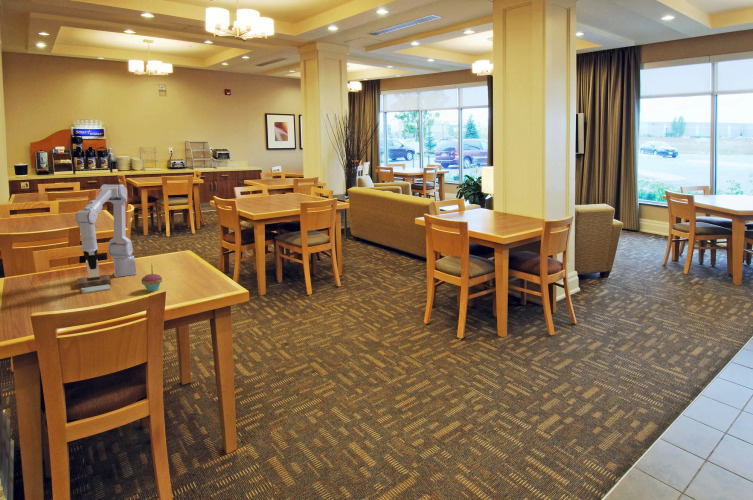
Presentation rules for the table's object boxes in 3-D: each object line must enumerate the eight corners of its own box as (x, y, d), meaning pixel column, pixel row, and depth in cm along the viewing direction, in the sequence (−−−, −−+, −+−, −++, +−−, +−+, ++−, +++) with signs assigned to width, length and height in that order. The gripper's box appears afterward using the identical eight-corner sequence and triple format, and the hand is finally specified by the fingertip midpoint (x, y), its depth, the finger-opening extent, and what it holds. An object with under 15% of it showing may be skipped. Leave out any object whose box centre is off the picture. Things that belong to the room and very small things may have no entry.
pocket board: (108, 279, 243) (108, 274, 242) (110, 284, 236) (110, 279, 235) (77, 284, 236) (76, 278, 236) (78, 289, 229) (77, 283, 228)
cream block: (98, 273, 230) (97, 258, 229) (99, 276, 227) (97, 261, 225) (87, 275, 228) (85, 260, 226) (88, 277, 224) (86, 262, 223)
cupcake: (146, 287, 232) (143, 261, 229) (165, 286, 232) (163, 261, 229) (139, 293, 223) (136, 266, 220) (159, 292, 224) (157, 266, 221)
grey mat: (108, 285, 234) (108, 284, 234) (110, 289, 228) (110, 288, 228) (81, 289, 228) (81, 288, 228) (82, 293, 222) (82, 292, 222)
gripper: (77, 235, 227) (81, 265, 230) (79, 241, 215) (83, 272, 218) (95, 234, 231) (99, 263, 234) (98, 239, 219) (102, 270, 222)
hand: (92, 267), depth 226 cm, fingers closed on cream block, 4 cm apart
